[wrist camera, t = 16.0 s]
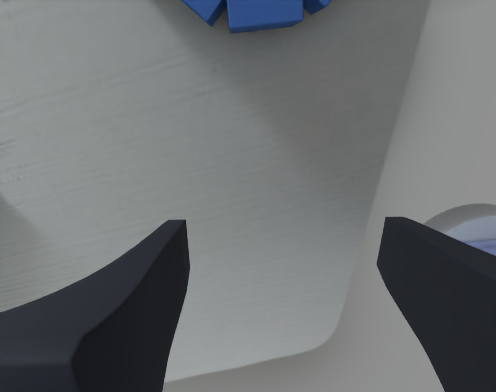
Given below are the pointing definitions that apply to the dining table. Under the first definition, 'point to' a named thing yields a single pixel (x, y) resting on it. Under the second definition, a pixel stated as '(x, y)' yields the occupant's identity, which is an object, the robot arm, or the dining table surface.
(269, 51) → the dining table surface
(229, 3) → the ring
